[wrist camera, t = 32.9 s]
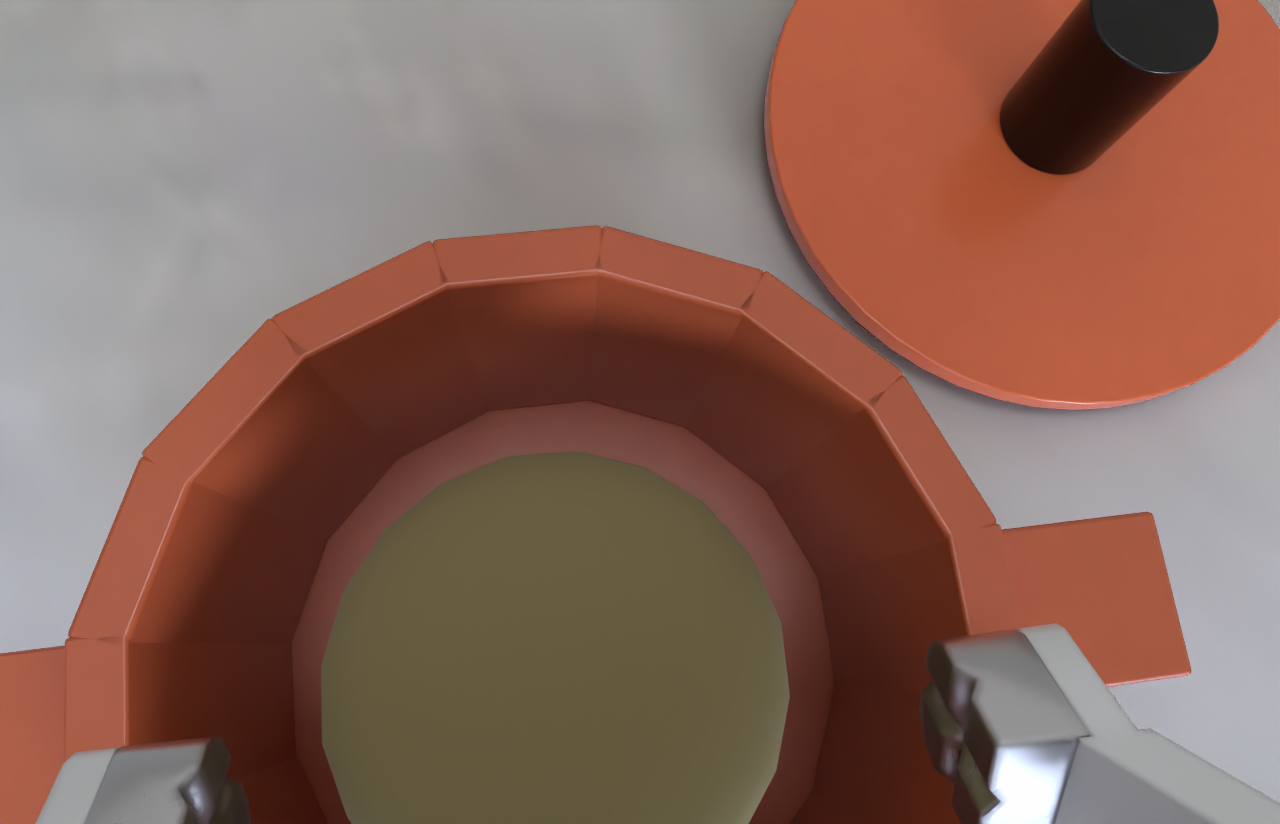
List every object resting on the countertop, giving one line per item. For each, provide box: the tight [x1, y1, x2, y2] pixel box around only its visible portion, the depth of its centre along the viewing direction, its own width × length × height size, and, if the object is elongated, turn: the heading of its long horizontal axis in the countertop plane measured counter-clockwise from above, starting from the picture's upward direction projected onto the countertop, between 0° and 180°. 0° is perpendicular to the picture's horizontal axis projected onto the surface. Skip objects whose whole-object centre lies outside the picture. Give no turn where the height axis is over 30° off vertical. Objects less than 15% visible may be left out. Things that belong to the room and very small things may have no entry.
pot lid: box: [764, 0, 1280, 410], centre depth 22 cm, size 14×14×5 cm
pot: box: [0, 226, 1191, 824], centre depth 17 cm, size 13×18×8 cm
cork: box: [321, 451, 790, 824], centre depth 15 cm, size 6×6×11 cm
